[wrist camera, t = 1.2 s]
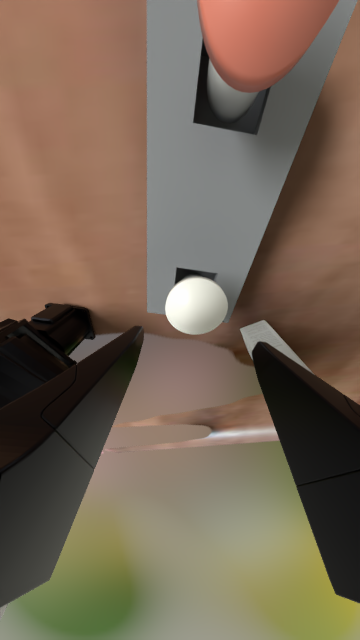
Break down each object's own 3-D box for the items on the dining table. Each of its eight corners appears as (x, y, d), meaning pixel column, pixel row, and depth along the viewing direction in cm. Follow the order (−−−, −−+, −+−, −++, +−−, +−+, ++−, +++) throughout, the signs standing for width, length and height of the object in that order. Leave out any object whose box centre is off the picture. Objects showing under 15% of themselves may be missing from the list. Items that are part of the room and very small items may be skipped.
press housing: (219, 304, 21) (228, 322, 17) (154, 295, 21) (147, 312, 16) (299, 62, 10) (380, -58, 6) (163, 32, 10) (146, -121, 5)
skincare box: (271, 342, 25) (328, 418, 15) (247, 350, 26) (285, 424, 16) (265, 318, 22) (331, 390, 12) (238, 327, 23) (278, 400, 13)
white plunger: (209, 310, 17) (217, 337, 12) (168, 305, 16) (163, 330, 12) (221, 268, 14) (237, 284, 10) (173, 261, 14) (167, 274, 10)
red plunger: (256, 150, 10) (311, 88, 5) (185, 136, 9) (185, 60, 5) (300, -2, 7) (485, -376, 3) (201, -26, 7) (230, -477, 2)
